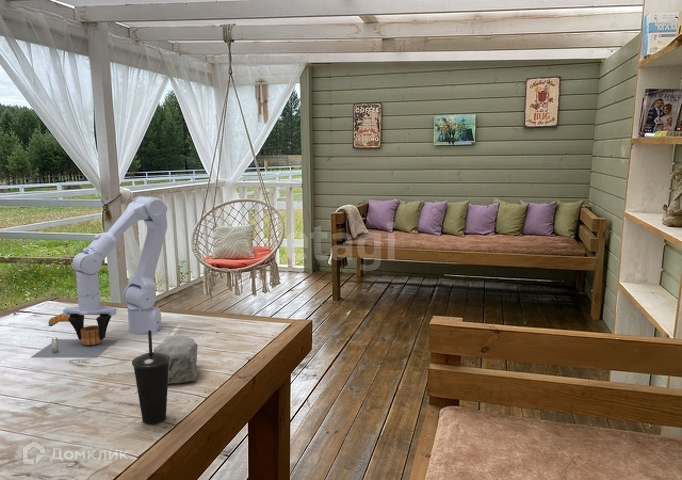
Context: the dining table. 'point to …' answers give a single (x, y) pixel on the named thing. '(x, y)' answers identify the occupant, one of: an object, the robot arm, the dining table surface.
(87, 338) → the bead
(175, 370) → the stone
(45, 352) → the grey rectangular slab
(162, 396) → the drinking cup
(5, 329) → the dining table surface
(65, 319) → the pastry
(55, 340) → the metal post
